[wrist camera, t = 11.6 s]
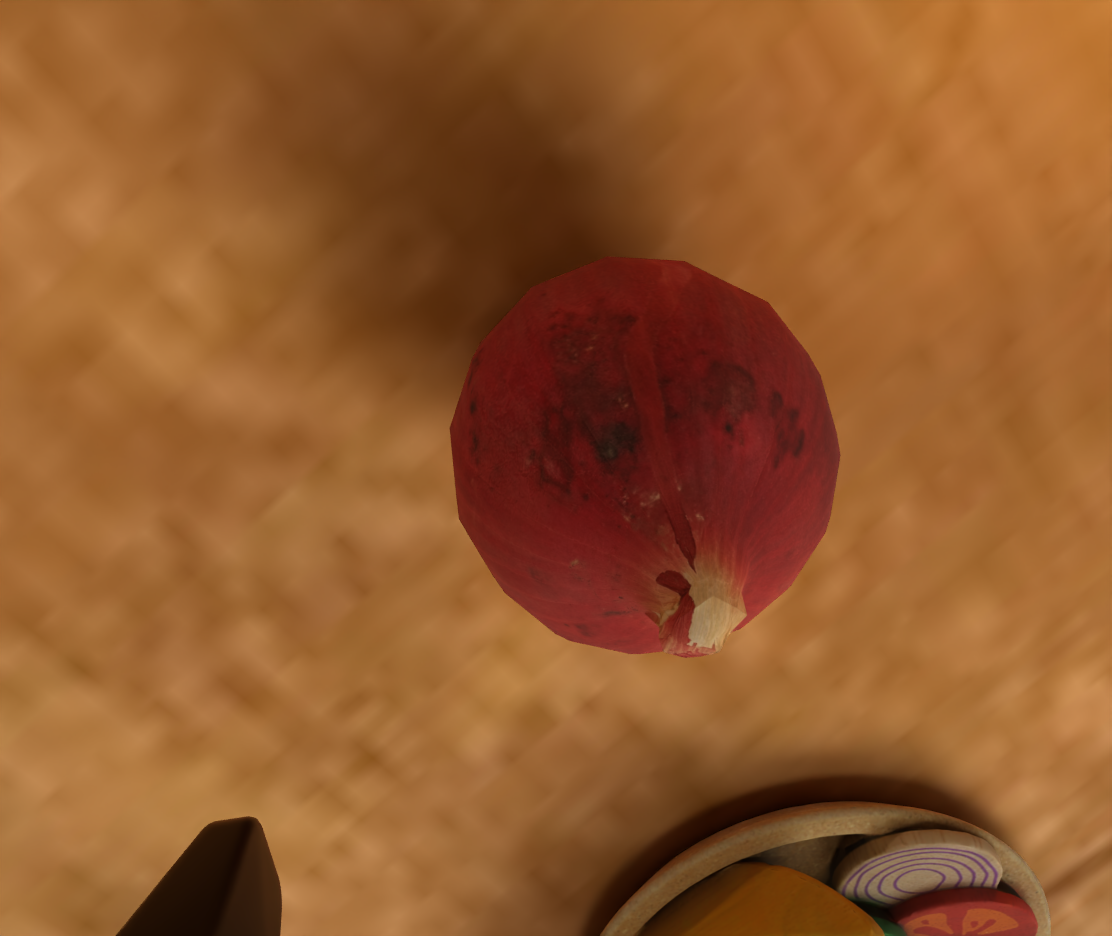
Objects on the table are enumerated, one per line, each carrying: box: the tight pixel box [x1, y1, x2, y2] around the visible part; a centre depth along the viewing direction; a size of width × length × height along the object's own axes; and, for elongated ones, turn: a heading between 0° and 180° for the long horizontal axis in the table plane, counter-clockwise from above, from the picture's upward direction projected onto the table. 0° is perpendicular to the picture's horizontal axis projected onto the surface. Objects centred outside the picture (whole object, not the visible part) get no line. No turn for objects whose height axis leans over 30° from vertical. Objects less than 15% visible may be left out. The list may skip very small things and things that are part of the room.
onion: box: [450, 256, 840, 658], centre depth 15 cm, size 6×6×8 cm
